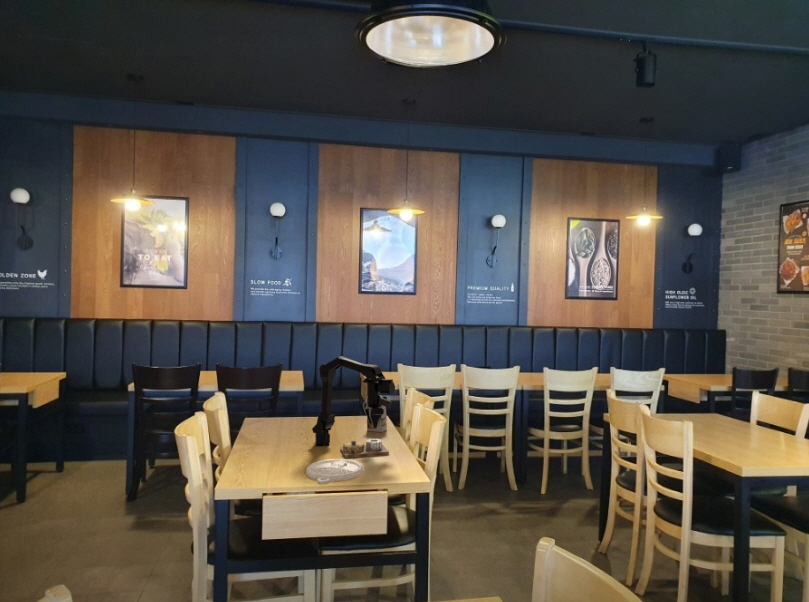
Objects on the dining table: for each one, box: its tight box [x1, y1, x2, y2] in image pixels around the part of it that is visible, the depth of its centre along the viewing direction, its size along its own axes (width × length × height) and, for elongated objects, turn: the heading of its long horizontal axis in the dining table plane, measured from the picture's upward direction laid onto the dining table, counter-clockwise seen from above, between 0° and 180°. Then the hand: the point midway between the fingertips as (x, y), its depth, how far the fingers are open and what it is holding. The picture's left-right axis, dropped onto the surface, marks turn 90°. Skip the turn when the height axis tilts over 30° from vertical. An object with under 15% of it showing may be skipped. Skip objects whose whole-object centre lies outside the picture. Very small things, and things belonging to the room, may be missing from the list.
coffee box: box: [366, 405, 388, 433], centre depth 306 cm, size 9×6×16 cm
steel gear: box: [365, 438, 383, 451], centre depth 265 cm, size 7×7×4 cm
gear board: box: [340, 440, 390, 459], centre depth 264 cm, size 20×14×6 cm
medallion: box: [305, 458, 364, 485], centre depth 234 cm, size 24×27×2 cm
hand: (373, 426), depth 265 cm, fingers open, 9 cm apart
